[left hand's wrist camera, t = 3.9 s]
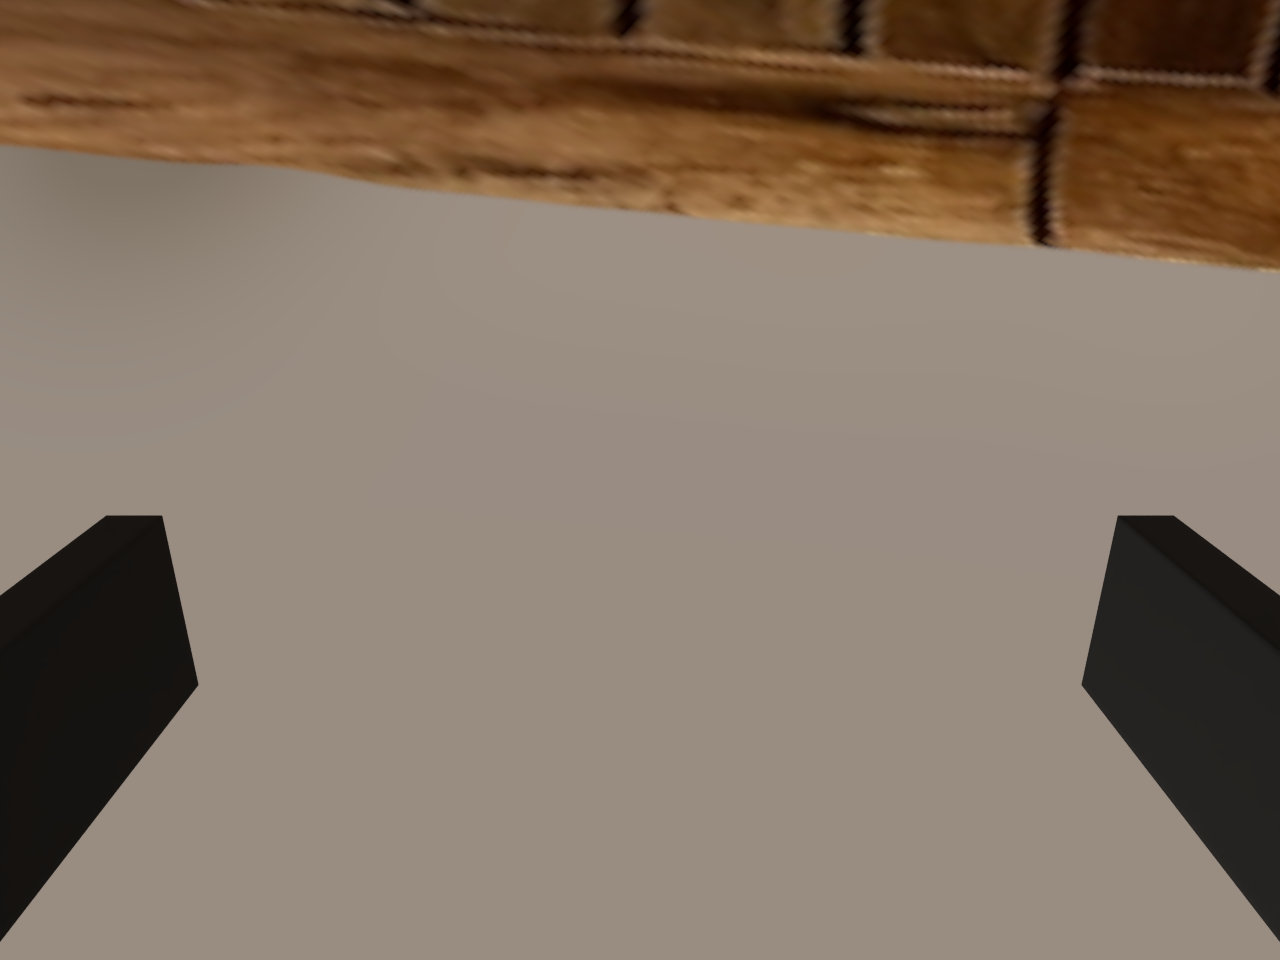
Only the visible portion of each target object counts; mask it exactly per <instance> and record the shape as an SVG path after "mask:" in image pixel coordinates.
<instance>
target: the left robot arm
mask: <svg viewBox="0 0 1280 960" xmlns="http://www.w3.org/2000/svg"><path fill="white" fill-rule="evenodd" d="M197 686H198V680H197V676H196V671H195V666H194V662H193V657H192V652H191V648H190V643H189V638H188V634H187V629H186V624H185V620H184V615H183V610H182V606H181V601H180V597H179V592H178V587H177V583H176V578H175V573H174V568H173V564H172V559H171V555H170V550H169V545H168V541H167V536H166V531H165V527H164V522H163V517H162V516H105V517H104V518H103V519H101V520H100V521H99V522H97V523H96V524H95V525H93V526H92V527H91V528H89V529H88V530H87V531H85V532H84V533H83V534H81V535H80V536H79V537H77V538H76V539H75V540H73V541H72V542H71V543H69V544H68V545H67V546H65V547H64V548H63V549H61V550H60V551H59V552H57V553H56V554H55V555H53V556H52V557H51V558H50V559H48V560H47V561H45V562H44V563H43V564H41V565H40V566H39V567H38V568H36V569H35V570H34V571H32V572H31V573H30V574H28V575H27V576H26V577H24V578H23V579H22V580H20V581H19V582H18V583H16V584H15V585H14V586H12V587H11V588H10V589H8V590H7V591H6V592H4V593H3V594H2V595H0V941H1V940H2V939H3V937H4V936H5V935H6V933H7V932H8V931H9V930H10V928H11V927H12V926H13V924H14V923H15V922H16V921H17V919H18V918H19V917H20V915H21V914H22V913H23V911H24V910H25V909H26V908H27V906H28V905H29V904H30V902H31V901H32V900H33V899H34V897H35V896H36V895H37V893H38V892H39V891H40V890H41V888H42V887H43V886H44V884H45V883H46V882H47V880H48V879H49V878H50V877H51V875H52V874H53V873H54V871H55V870H56V869H57V868H58V866H59V865H60V864H61V862H62V861H63V860H64V858H65V857H66V856H67V854H68V853H69V852H70V851H71V849H72V848H73V847H74V845H75V844H76V843H77V842H78V840H79V839H80V838H81V836H82V835H83V834H84V833H85V831H86V830H87V829H88V827H89V826H90V825H91V823H92V822H93V821H94V820H95V818H96V817H97V816H98V814H99V813H100V812H101V811H102V809H103V808H104V807H105V805H106V804H107V803H108V801H109V800H110V799H111V797H112V796H113V795H114V794H115V792H116V791H117V790H118V789H119V787H120V786H121V785H122V783H123V782H124V781H125V779H126V778H127V777H128V776H129V774H130V773H131V772H132V770H133V769H134V768H135V766H136V765H137V764H138V763H139V761H140V760H141V759H142V757H143V756H144V755H145V754H146V752H147V751H148V750H149V748H150V747H151V746H152V744H153V743H154V742H155V741H156V739H157V738H158V737H159V735H160V734H161V733H162V732H163V730H164V729H165V728H166V726H167V725H168V724H169V722H170V721H171V720H172V719H173V717H174V716H175V715H176V713H177V712H178V711H179V710H180V708H181V707H182V706H183V704H184V703H185V702H186V700H187V699H188V698H189V697H190V695H191V694H192V693H193V691H194V690H195V689H196V688H197ZM1082 686H1083V688H1084V689H1085V690H1086V691H1087V693H1088V694H1089V695H1090V697H1091V698H1092V699H1093V700H1094V702H1095V703H1096V704H1097V706H1098V707H1099V708H1100V710H1101V711H1102V712H1103V713H1104V715H1105V716H1106V717H1107V719H1108V720H1109V721H1110V722H1111V724H1112V725H1113V726H1114V728H1115V729H1116V730H1117V732H1118V733H1119V734H1120V735H1121V737H1122V738H1123V739H1124V741H1125V742H1126V743H1127V744H1128V746H1129V747H1130V748H1131V750H1132V751H1133V752H1134V754H1135V755H1136V756H1137V757H1138V759H1139V760H1140V761H1141V763H1142V764H1143V765H1144V766H1145V768H1146V769H1147V770H1148V772H1149V773H1150V774H1151V776H1152V777H1153V778H1154V779H1155V781H1156V782H1157V783H1158V785H1159V786H1160V787H1161V789H1162V790H1163V791H1164V792H1165V794H1166V795H1167V796H1168V798H1169V799H1170V800H1171V801H1172V803H1173V804H1174V805H1175V807H1176V808H1177V809H1178V811H1179V812H1180V813H1181V814H1182V816H1183V817H1184V818H1185V820H1186V821H1187V822H1188V823H1189V825H1190V826H1191V827H1192V829H1193V830H1194V831H1195V833H1196V834H1197V835H1198V836H1199V838H1200V839H1201V840H1202V842H1203V843H1204V844H1205V845H1206V847H1207V848H1208V849H1209V851H1210V852H1211V853H1212V855H1213V856H1214V857H1215V858H1216V860H1217V861H1218V862H1219V864H1220V865H1221V866H1222V867H1223V869H1224V870H1225V871H1226V873H1227V874H1228V875H1229V876H1230V878H1231V879H1232V880H1233V882H1234V883H1235V884H1236V886H1237V887H1238V888H1239V889H1240V891H1241V892H1242V893H1243V895H1244V896H1245V897H1246V899H1247V900H1248V901H1249V902H1250V904H1251V905H1252V906H1253V908H1254V909H1255V910H1256V912H1257V913H1258V914H1259V915H1260V917H1261V918H1262V919H1263V921H1264V922H1265V923H1266V924H1267V926H1268V927H1269V928H1270V930H1271V931H1272V932H1273V933H1274V935H1275V936H1276V937H1277V939H1278V940H1279V941H1280V595H1278V594H1277V593H1276V592H1274V591H1273V590H1272V589H1270V588H1269V587H1268V586H1266V585H1265V584H1264V583H1262V582H1261V581H1260V580H1258V579H1257V578H1256V577H1254V576H1253V575H1252V574H1250V573H1249V572H1248V571H1246V570H1245V569H1244V568H1242V567H1241V566H1240V565H1238V564H1237V563H1236V562H1235V561H1233V560H1232V559H1230V558H1229V557H1228V556H1227V555H1225V554H1224V553H1222V552H1221V551H1220V550H1219V549H1217V548H1216V547H1215V546H1213V545H1212V544H1211V543H1209V542H1208V541H1207V540H1205V539H1204V538H1203V537H1201V536H1200V535H1199V534H1197V533H1196V532H1195V531H1193V530H1192V529H1191V528H1189V527H1188V526H1187V525H1185V524H1184V523H1183V522H1181V521H1180V520H1179V519H1177V518H1176V517H1175V516H1118V517H1117V522H1116V527H1115V531H1114V536H1113V541H1112V545H1111V550H1110V555H1109V559H1108V564H1107V568H1106V573H1105V578H1104V582H1103V587H1102V592H1101V597H1100V601H1099V606H1098V610H1097V615H1096V620H1095V625H1094V629H1093V634H1092V638H1091V643H1090V648H1089V652H1088V657H1087V662H1086V667H1085V671H1084V676H1083V680H1082Z"/></svg>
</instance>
